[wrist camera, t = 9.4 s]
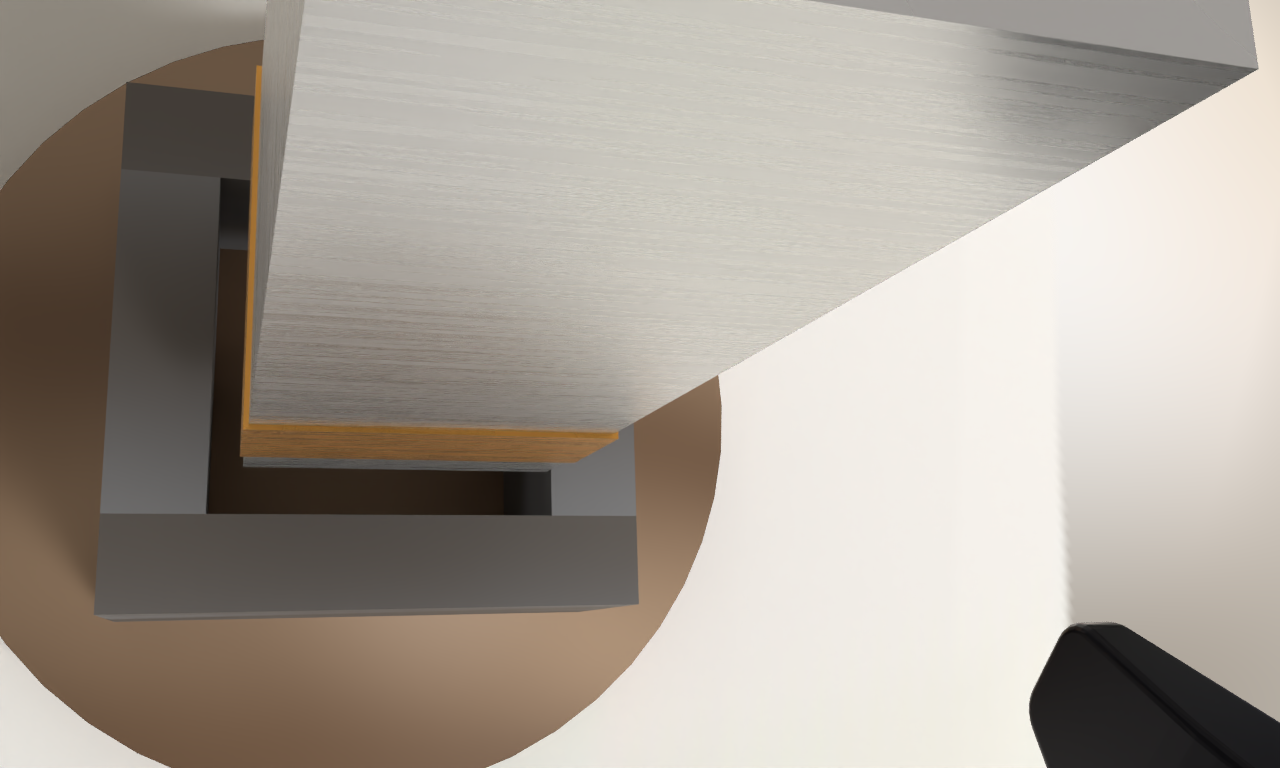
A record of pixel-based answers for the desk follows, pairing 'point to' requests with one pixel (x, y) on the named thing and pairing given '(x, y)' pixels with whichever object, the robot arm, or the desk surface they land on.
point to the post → (638, 193)
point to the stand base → (280, 492)
